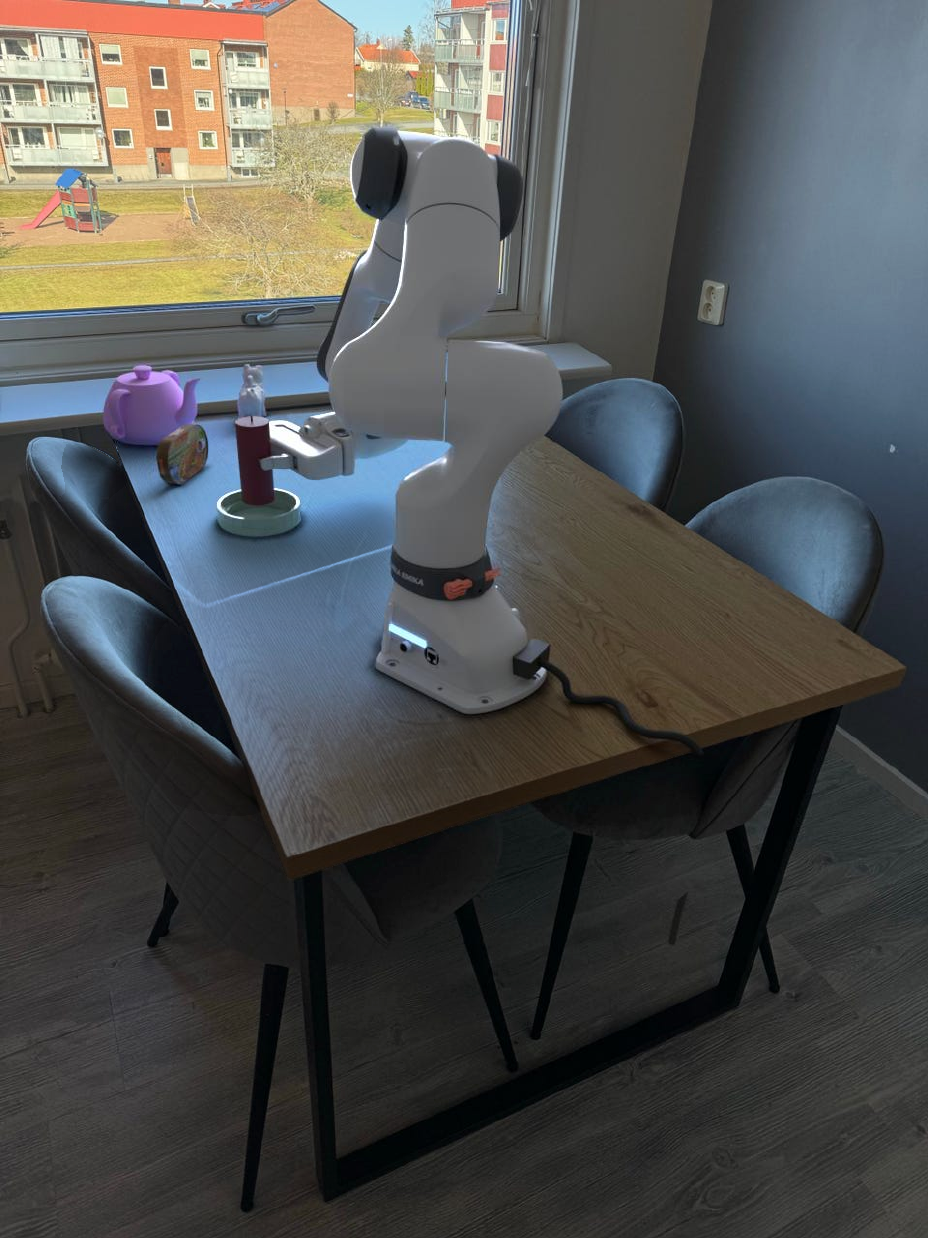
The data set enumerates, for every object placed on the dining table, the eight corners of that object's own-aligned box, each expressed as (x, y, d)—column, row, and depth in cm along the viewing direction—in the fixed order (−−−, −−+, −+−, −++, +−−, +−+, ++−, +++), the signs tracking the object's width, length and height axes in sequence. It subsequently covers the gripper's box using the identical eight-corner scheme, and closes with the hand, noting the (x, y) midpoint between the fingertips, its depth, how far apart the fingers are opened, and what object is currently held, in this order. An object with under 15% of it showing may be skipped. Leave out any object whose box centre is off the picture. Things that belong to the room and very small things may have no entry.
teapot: (175, 464, 164) (166, 391, 157) (78, 446, 170) (65, 374, 163) (238, 429, 182) (232, 362, 175) (148, 414, 188) (139, 348, 181)
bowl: (316, 525, 144) (315, 507, 143) (243, 545, 137) (242, 526, 135) (274, 498, 153) (273, 481, 151) (204, 516, 145) (202, 498, 143)
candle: (280, 500, 142) (275, 417, 135) (252, 508, 139) (244, 423, 132) (264, 490, 146) (258, 408, 139) (236, 497, 143) (228, 414, 136)
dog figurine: (268, 409, 195) (265, 360, 189) (263, 427, 184) (260, 376, 179) (243, 408, 194) (240, 360, 189) (237, 427, 183) (233, 376, 178)
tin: (173, 491, 153) (167, 445, 149) (157, 489, 154) (150, 443, 149) (211, 462, 166) (207, 418, 162) (196, 460, 166) (191, 416, 162)
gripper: (290, 407, 151) (216, 421, 143) (358, 440, 138) (282, 457, 130) (292, 442, 154) (220, 457, 146) (359, 477, 142) (284, 497, 133)
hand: (249, 458), depth 138 cm, fingers closed on candle, 5 cm apart
